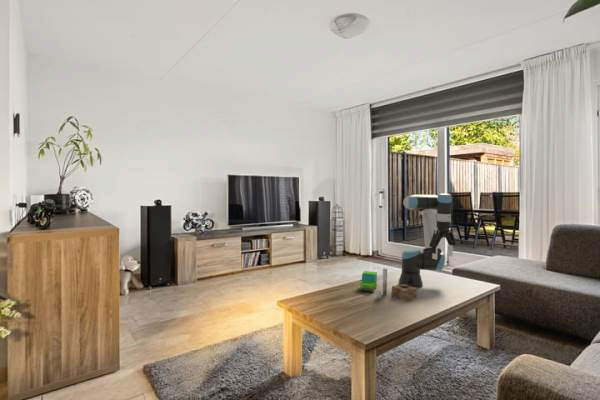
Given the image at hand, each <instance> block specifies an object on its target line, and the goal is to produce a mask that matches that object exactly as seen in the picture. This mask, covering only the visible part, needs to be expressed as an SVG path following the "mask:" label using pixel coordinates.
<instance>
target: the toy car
mask: <svg viewBox="0 0 600 400" xmlns="http://www.w3.org/2000/svg"><path fill="white" fill-rule="evenodd" d="M377 277H378V272H377V271H370V270H369V271H367V270H364V271H363V272H362V275H361V279H360V285H359V286H360V289H359V290H360V291H365V292H366V291H368V292H372V293H374V292H375V289H376V288H377V287H378V286H377V283H378V282H377V281H378V280H377V279H378V278H377Z"/></svg>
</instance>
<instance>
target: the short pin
mask: <svg viewBox="0 0 600 400" xmlns="http://www.w3.org/2000/svg"><path fill="white" fill-rule="evenodd" d="M375 293H376V295H375V297H376V299H375V300H376V301H378V302H380V301H381V297H382V296H381V295H382V294H381V293H382V292H381V291H380V290H376V291H375Z"/></svg>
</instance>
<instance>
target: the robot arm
mask: <svg viewBox="0 0 600 400" xmlns="http://www.w3.org/2000/svg"><path fill="white" fill-rule="evenodd" d="M452 197H453V196H452V194H450V193H439V194H437V195H436V194H411V195H407V196H406V197H404V198H403V201H402V205H403V206H404V208H405V209H407V210H409V211H415V212H420V213H419V214H420V215H421V216H422V224H423V225H422V226H423V237H424V239H423V240H424V248H423V249H422V251H421V249H418V248H410V249H408V248H407V249H405V250H403V251H402V253H401V273H400V276H399V279H398V285H401V284H406V285H409V286H412V287H414V288H417V289H418V288H421V287H423V286H424V285H423V280H422V276H421V270H422V271H426V270H427V271H435V272H436V271H442V270H443V269H444V267H445V263H446V255H445V252H442V249H441V248H440V247H439V245H440V242H441V240H442V239H443V238H445V239H446V242H447V243H448V244H447V257H453V252H454V246H455V245H456V244H457V242H456V238H455V236H454V229H453V228H451V227H452V222H451V220H452V219H451V218H452V201H453V200H452Z"/></svg>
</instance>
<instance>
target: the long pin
mask: <svg viewBox="0 0 600 400" xmlns="http://www.w3.org/2000/svg"><path fill="white" fill-rule="evenodd" d="M387 288H388V269H387V268H383V269H382V296H384V297H387V295H388V291H387V290H388V289H387Z"/></svg>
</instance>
